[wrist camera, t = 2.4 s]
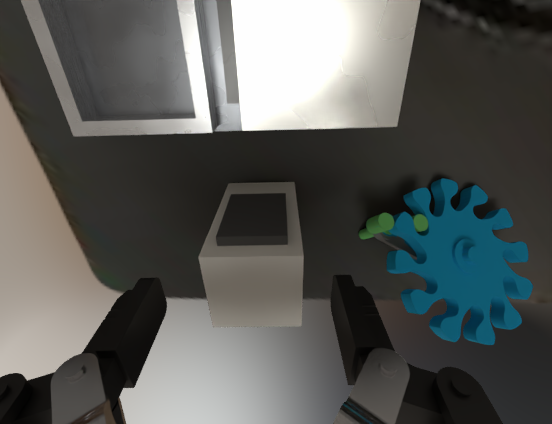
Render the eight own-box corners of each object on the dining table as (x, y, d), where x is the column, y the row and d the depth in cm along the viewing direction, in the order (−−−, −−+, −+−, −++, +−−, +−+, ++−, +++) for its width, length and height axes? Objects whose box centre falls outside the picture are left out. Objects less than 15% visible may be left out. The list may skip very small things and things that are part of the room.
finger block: (294, 174, 18) (303, 246, 11) (294, 236, 21) (301, 326, 14) (227, 176, 18) (196, 247, 11) (235, 237, 21) (213, 327, 14)
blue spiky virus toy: (551, 220, 18) (534, 380, 15) (470, 235, 23) (445, 353, 20) (410, 138, 17) (359, 290, 14) (361, 174, 22) (316, 288, 19)
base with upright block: (376, -54, 13) (535, -239, 5) (356, 123, 17) (425, 181, 9) (39, -40, 13) (-326, -192, 5) (97, 130, 17) (-60, 191, 9)
